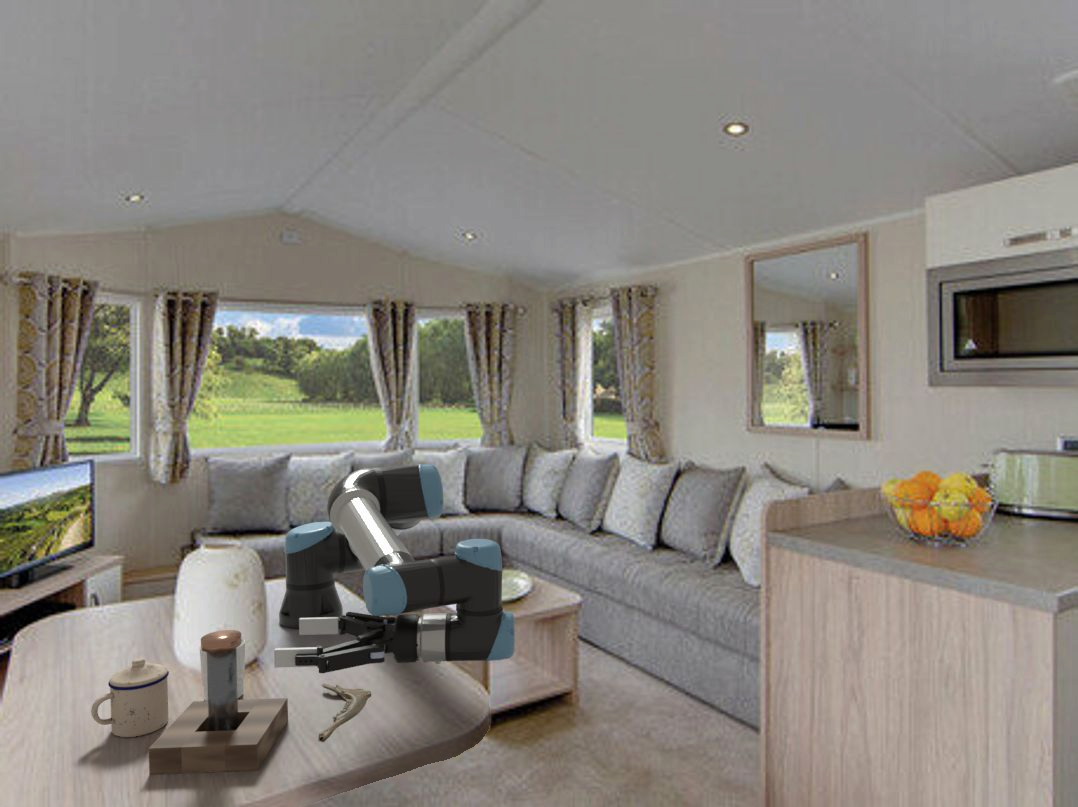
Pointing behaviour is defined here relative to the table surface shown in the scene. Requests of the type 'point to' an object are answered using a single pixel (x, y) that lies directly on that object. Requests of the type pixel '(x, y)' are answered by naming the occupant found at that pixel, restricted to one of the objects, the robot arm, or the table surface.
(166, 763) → the socket block
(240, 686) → the white cup
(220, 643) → the metal pin
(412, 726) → the table surface
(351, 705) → the jawbone
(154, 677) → the teacup with lid
